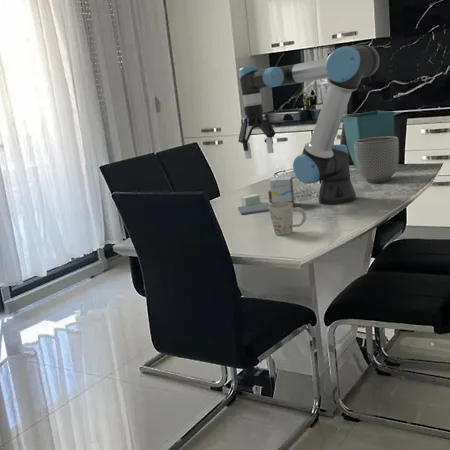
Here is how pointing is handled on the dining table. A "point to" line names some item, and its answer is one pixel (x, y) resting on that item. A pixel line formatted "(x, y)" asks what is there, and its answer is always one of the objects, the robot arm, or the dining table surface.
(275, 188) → the ink box
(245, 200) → the sage block
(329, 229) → the dining table surface
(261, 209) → the slate pad
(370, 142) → the planter
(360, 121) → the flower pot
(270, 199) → the walnut block
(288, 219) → the mug
